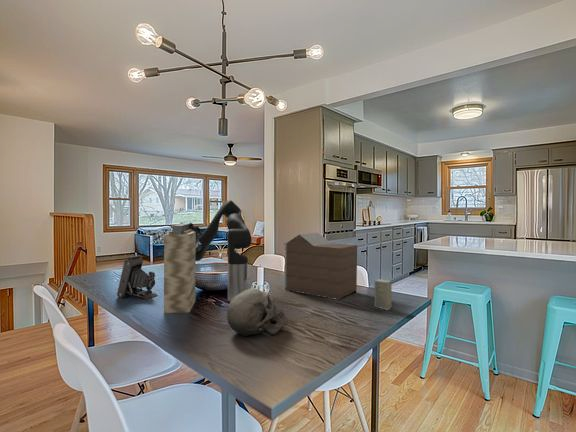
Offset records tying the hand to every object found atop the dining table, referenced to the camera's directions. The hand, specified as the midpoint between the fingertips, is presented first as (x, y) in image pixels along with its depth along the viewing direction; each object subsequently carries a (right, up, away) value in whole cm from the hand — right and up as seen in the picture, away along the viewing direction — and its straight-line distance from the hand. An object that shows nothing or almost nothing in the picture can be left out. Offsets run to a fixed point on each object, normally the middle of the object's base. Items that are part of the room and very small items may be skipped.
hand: (185, 224), depth 148 cm
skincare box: (+89, -37, -9) cm, 97 cm away
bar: (+1, -3, -6) cm, 7 cm away
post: (+1, -35, -11) cm, 37 cm away
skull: (+37, -36, -38) cm, 65 cm away
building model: (+64, -36, +20) cm, 76 cm away
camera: (-24, -35, +5) cm, 43 cm away
